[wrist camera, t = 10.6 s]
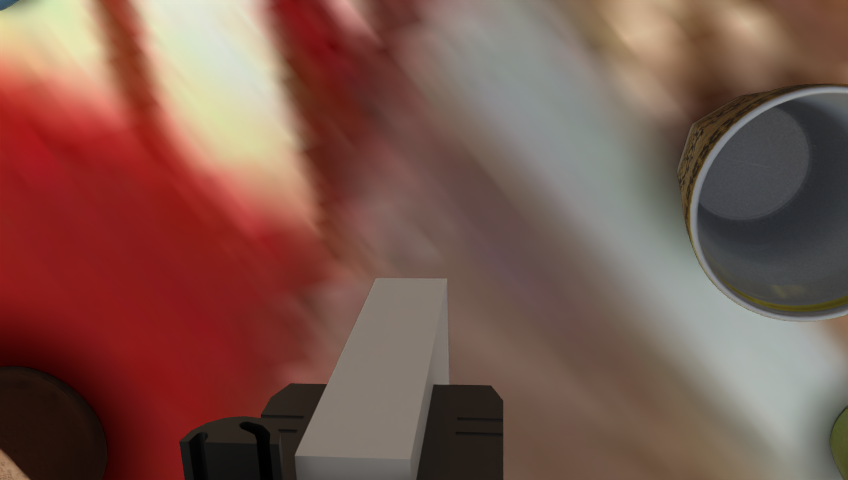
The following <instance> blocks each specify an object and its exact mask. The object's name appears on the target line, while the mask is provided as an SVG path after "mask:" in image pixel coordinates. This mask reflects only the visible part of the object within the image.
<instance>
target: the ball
mask: <svg viewBox="0 0 848 480" xmlns="http://www.w3.org/2000/svg"><path fill="white" fill-rule="evenodd" d="M17 1H18V0H0V11H1V10H3V9H6V8H7V7H9V6H11V5H13V4H14V3H16V2H17Z"/></svg>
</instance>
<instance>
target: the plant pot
mask: <svg viewBox="0 0 848 480" xmlns="http://www.w3.org/2000/svg"><path fill="white" fill-rule="evenodd" d="M830 445H831V450H832V454H833V458H834V461H835V463H836V465H837V467H838V469H839V471H840V473H841V475H842V477H843V479H844V480H848V408H847V409H846V410H845V411H844V412H843V413H842V414H841V415H840V417H839V418H838V419H837V421H836V423H835V425H834V427H833V430H832V433H831V438H830Z"/></svg>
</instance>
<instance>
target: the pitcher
mask: <svg viewBox="0 0 848 480" xmlns="http://www.w3.org/2000/svg"><path fill="white" fill-rule="evenodd" d="M106 465H107V446H106V439H105V435H104V432H103V429H102V426H101V424H100V422H99V420H98V418H97V416H96V415H95V413H94V412H93V410H92V408H91V407H90V406H89V405H88V403H87V402H86V401H85V400H84V399H83V398H82V397H81V396H80V395H79V394H77V393H76V392H75V391H74V390H73V389H72V388H70V387H69V386H68V385H66V384H65V383H63V382H62V381H60V380H58V379H57V378H55V377H53V376H51V375H49V374H47V373H44V372H41V371H38V370H35V369H31V368H27V367H20V366H8V367H0V480H102V478H103V475H104V473H105V469H106Z"/></svg>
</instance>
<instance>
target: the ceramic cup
mask: <svg viewBox="0 0 848 480" xmlns="http://www.w3.org/2000/svg"><path fill="white" fill-rule="evenodd" d="M677 174H678V180H679V184H680V190H681V195H682V208H683V214H684V219H685V224H686V228H687V232H688V235H689V238H690V241H691V244H692V247H693V249H694V252H695V255H696V257H697V259H698V261H699V263H700V265H701V267H702V269H703V270H704V272H705V274H706V275H707V276H708V278H709V279H710V280H711V282H712V283H713V284H714V285H715V286H716V287H717V288H718V289H719V290H720V291H721V292H722V293H723V294H724V295H726V296H727V297H728V298H729V299H731V300H732V301H734V302H735V303H737V304H738V305H740V306H742V307H744V308H746V309H748V310H750V311H752V312H755V313H757V314H760V315H762V316H766V317H770V318H774V319H779V320H784V321H797V322H808V321H820V320H828V319H833V318H837V317H842V316H845V315H848V85H847V84H805V85H797V86H790V87H783V88H779V89H775V90H772V91H769V92H762V93H756V94H752V95H744V96H740V97H737V98H735V99H734V100H732V101H730V102H728V103H727V104H725V105H723V106H722V107H720V108H718V109H716V110H715V111H713V112H711V113H710V114H708V115H706V116H704V117H703V118H701V119H699V120H698V121H696V122H694V123H693V124H692V126H691V128H690V131H689V134H688V137H687V140H686V143H685V146H684V149H683V152H682V156H681V159H680V162H679V165H678V169H677Z"/></svg>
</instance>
